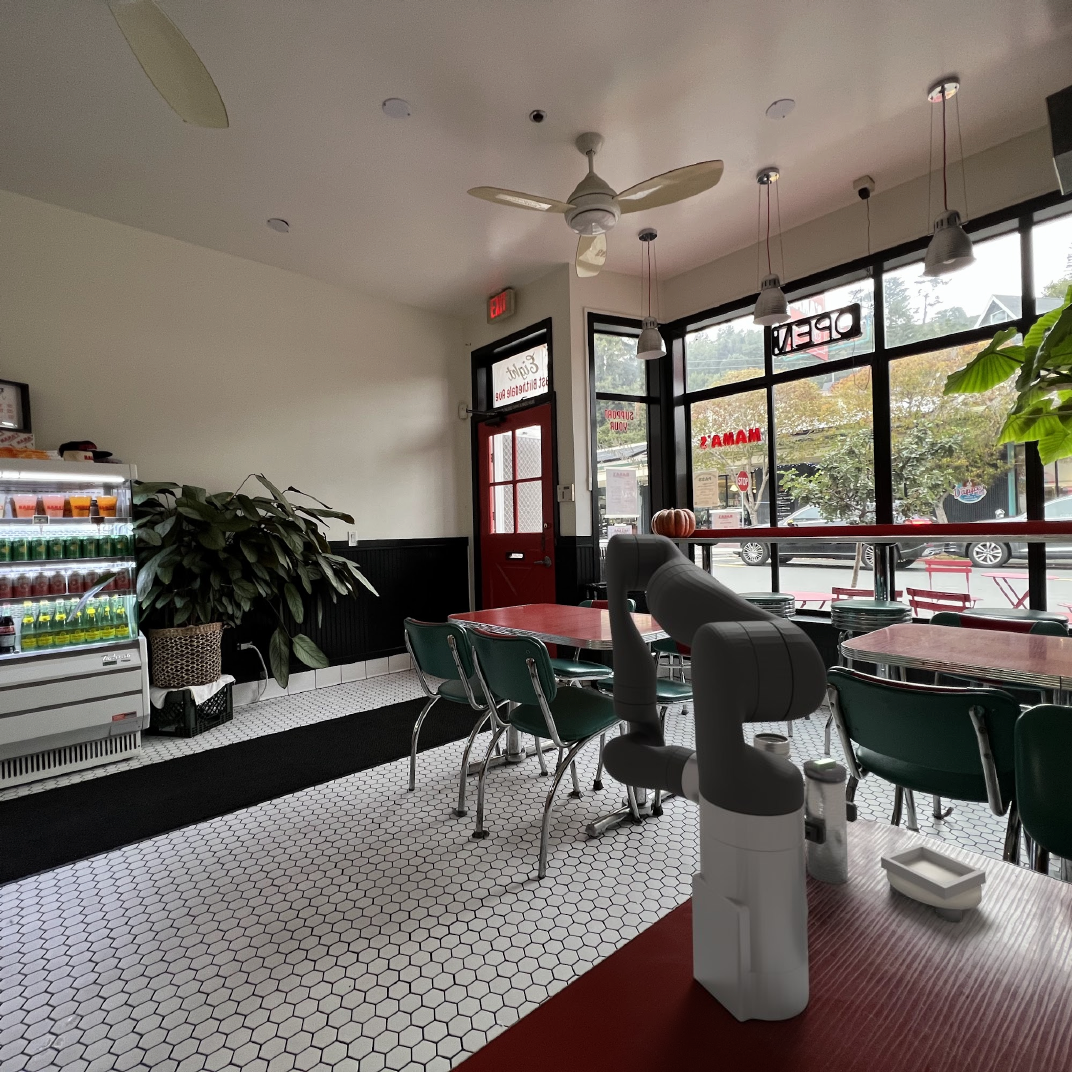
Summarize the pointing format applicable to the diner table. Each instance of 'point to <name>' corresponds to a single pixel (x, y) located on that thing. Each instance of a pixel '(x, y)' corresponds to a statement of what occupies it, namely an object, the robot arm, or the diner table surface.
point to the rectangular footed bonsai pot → (934, 880)
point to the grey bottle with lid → (827, 819)
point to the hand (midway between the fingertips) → (841, 824)
